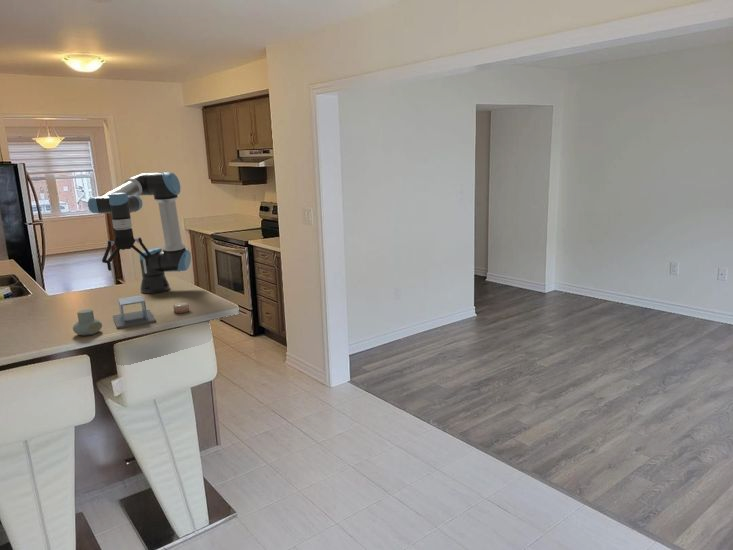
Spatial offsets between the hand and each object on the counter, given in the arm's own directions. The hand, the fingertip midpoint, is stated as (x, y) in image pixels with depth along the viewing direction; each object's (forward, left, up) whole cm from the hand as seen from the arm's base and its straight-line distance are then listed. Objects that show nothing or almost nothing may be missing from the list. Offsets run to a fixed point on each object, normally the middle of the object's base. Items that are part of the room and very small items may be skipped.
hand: (129, 275), depth 235 cm
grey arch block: (+1, -1, -20) cm, 20 cm away
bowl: (+1, +20, -21) cm, 29 cm away
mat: (+1, -1, -21) cm, 21 cm away
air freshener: (+10, -20, -21) cm, 31 cm away
